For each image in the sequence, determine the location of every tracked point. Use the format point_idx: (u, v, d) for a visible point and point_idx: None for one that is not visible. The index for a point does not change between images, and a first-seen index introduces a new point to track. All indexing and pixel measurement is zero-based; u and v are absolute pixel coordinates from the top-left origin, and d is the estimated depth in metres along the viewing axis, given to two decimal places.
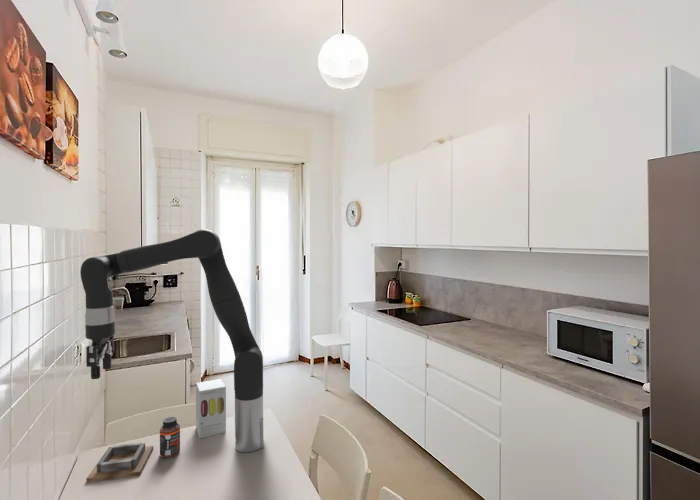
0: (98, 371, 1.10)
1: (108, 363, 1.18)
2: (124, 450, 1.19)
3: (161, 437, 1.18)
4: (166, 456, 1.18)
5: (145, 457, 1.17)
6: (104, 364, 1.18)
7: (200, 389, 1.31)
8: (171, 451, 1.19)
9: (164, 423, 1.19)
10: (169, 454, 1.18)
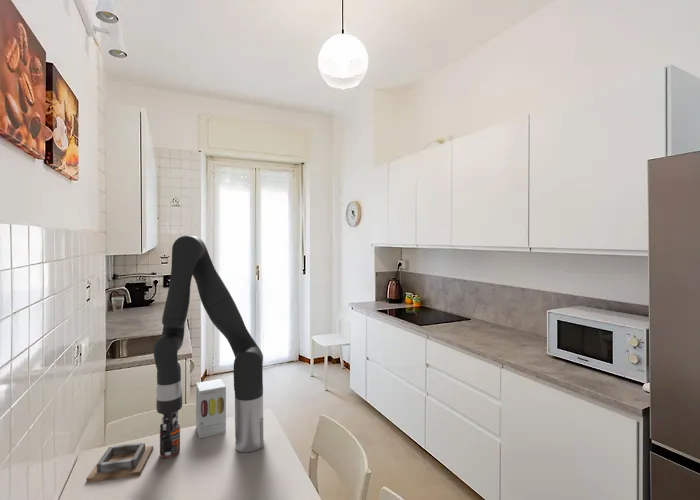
0: (170, 445, 1.18)
1: None
2: (124, 450, 1.19)
3: None
4: (166, 456, 1.18)
5: (145, 457, 1.17)
6: None
7: (200, 389, 1.31)
8: (171, 451, 1.19)
9: None
10: (169, 454, 1.18)
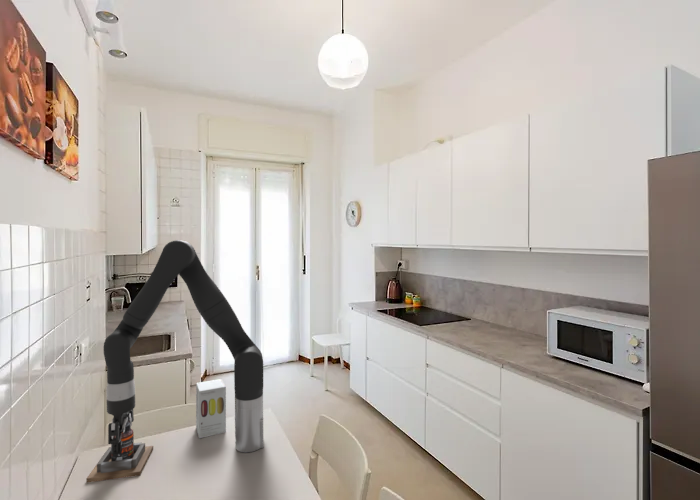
0: (119, 447, 1.10)
1: None
2: None
3: None
4: None
5: (145, 457, 1.17)
6: None
7: (200, 389, 1.31)
8: (123, 458, 1.13)
9: None
10: None
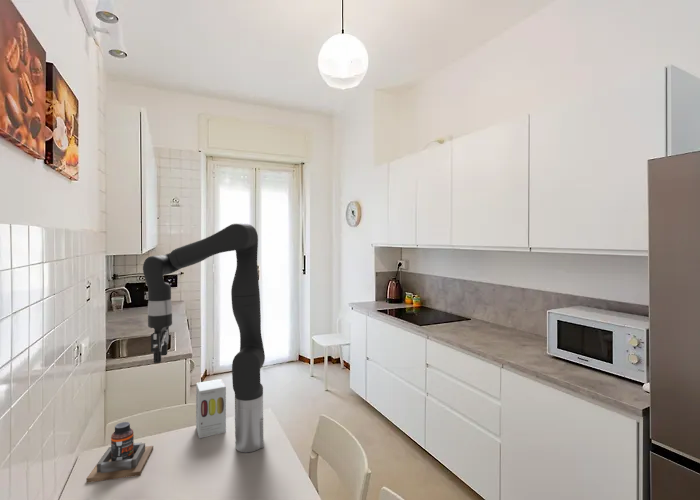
0: (160, 356, 1.25)
1: (165, 350, 1.34)
2: None
3: (112, 443, 1.12)
4: None
5: (145, 457, 1.17)
6: (161, 351, 1.33)
7: (200, 389, 1.31)
8: (123, 458, 1.13)
9: (116, 429, 1.13)
10: None
